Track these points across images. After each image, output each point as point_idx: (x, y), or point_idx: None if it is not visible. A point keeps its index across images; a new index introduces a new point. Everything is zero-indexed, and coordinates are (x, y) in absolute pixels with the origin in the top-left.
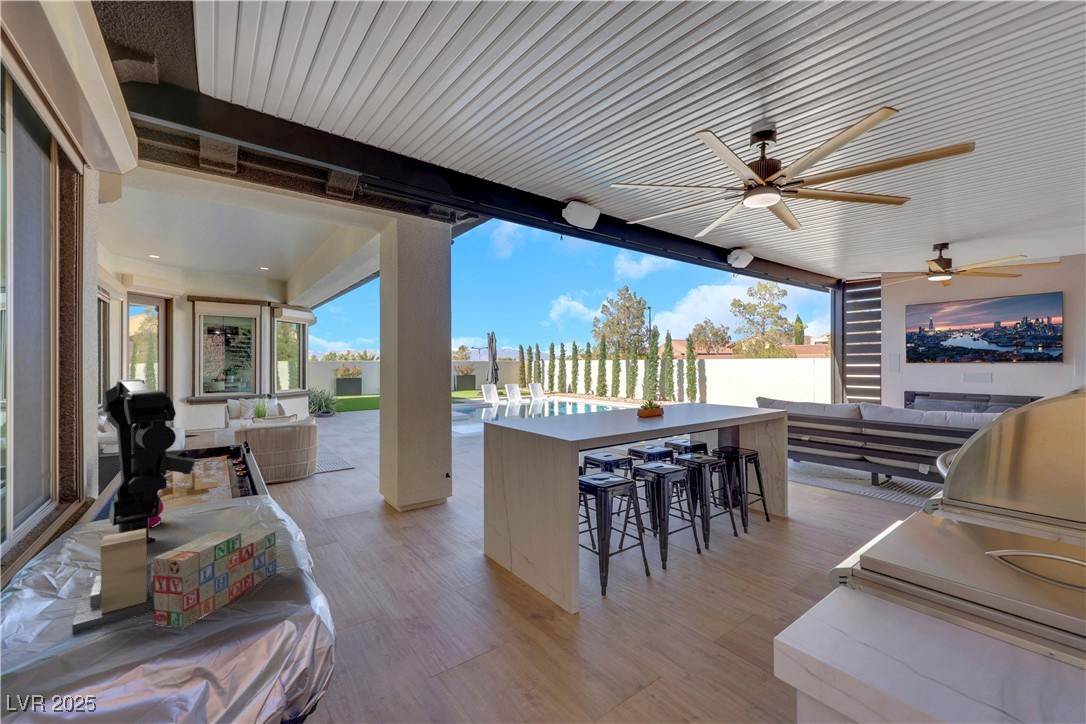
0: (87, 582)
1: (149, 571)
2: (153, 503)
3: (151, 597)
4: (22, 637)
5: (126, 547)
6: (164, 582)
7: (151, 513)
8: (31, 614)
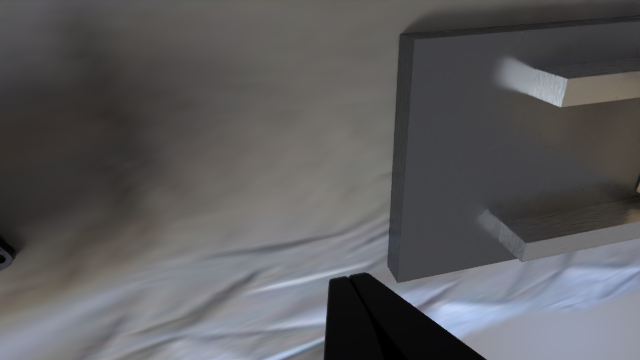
0: (444, 270)
1: (503, 105)
2: (464, 351)
3: None
4: (607, 287)
5: None
6: None
7: (370, 277)
8: (496, 316)
